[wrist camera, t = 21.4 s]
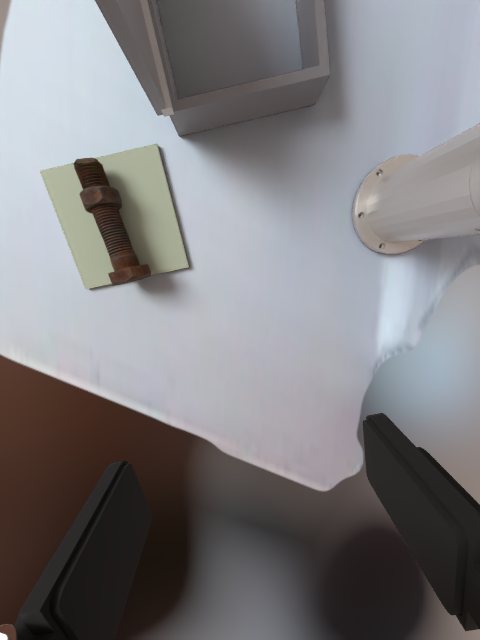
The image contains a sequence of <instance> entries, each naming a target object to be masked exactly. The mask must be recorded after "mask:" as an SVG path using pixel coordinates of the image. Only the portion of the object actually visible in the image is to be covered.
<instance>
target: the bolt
mask: <svg viewBox="0 0 480 640" xmlns="http://www.w3.org/2000/svg"><path fill="white" fill-rule="evenodd" d="M73 165H74V169H75V171H76V173H77V176H78V178H79V181H80V183H81V185H82V188H83V190H82V191H81V192H80V198H81V200H82V203H83V206H84V208H85V210H86V211H87V212H89V213H92V214H93V216H94V218H95V221H96V224H97V226H98V229H99V232H100V234H101V237H103V238H102V239H103V240H104V243H105V245H106V246H105V247H106V248H107V250H108V251H107V252H108V253H109V257H110V261H111V264H112V267H113V269H114V272H110V273H108V276H109V278H110V281H111V283H112V285H119V284H124V283H128V282H132V281H135V280H140V279H143V278H146V277H148V276H151V271H150V268H149V265H148V264H144V265H140V263H139V260H138V258H137V255H136V254H135V252H134V250H132V249H133V247H132V245H131V242H130V240H129V239H130V238H129V237H128V236H129V235H128V233H127V232H126V231H127V230H126V227H124V226H125V225H124V222H122V221H123V219H122V217H121V214H120V212H119V209H120V208H121V207H122V200H121V197H120V194H119V191H118V190H116V189H115V188H113V187H110V184H109V182H108V179H107V176H106V173H105V171H104V168H103V165H102V164H101V163H100V162H98V160H97V159H95V158H83V159H77V160H76V161H75V162H74V164H73Z"/></svg>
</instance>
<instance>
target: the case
mask: <svg viewBox="0 0 480 640" xmlns="http://www.w3.org/2000/svg"><path fill="white" fill-rule="evenodd" d="M95 1H96V3H97V5H98V7H99V9H100V10H101V12H102V14H103V16H104V18H105V20H106V21H107V23H108V25H109V27H110V29H111V31H112V32H113V34H114V36H115V38H116V40H117V42H118V43H119V45H120V47H121V49H122V51H123V53H124V54H125V56H126V58H127V60H128V62H129V64H130V65H131V67H132V69H133V71H134V73H135V75H136V77H137V78H138V80H139V82H140V84H141V86H142V88H143V89H144V91H145V93H146V95H147V97H148V99H149V100H150V102H151V104H152V106H153V108H154V110H155V111H156V113H157V115H164V116H170V118H171V120H172V122H173V124H174V127H175V129H176V131H177V133H178V135H179V136H183V135H187V134H191V133H195V132H200V131H204V130H208V129H213V128H217V127H221V126H225V125H230V124H234V123H238V122H242V121H247V120H251V119H255V118H260V117H264V116H268V115H272V114H277V113H281V112H285V111H289V110H294V109H298V108H302V107H307V106H311V105H315V103H316V101H317V99H318V97H319V95H320V93H321V91H322V89H323V87H324V85H325V84H326V82H327V80H328V78H329V76H330V67H329V54H328V42H327V29H326V17H325V4H324V0H296V8H297V17H298V27H299V36H300V46H301V55H302V65H303V70H298V71H294V72H290V73H286V74H282V75H278V76H273V77H269V78H265V79H261V80H257V81H253V82H248V83H244V84H240V85H236V86H232V87H227V88H223V89H219V90H215V91H211V92H207V93H202V94H198V95H194V96H190V97H186V98H182V99H178V95H177V91H176V87H175V82H174V78H173V73H172V69H171V65H170V60H169V56H168V52H167V47H166V43H165V38H164V34H163V30H162V25H161V21H160V16H159V12H158V8H157V3H156V0H95Z"/></svg>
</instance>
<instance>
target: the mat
mask: <svg viewBox="0 0 480 640" xmlns="http://www.w3.org/2000/svg"><path fill="white" fill-rule="evenodd" d="M95 159H97V160H98V162H100V163H101V164H102V165H103V168H104V171H105V173H106V176H107V179H108V182H109V184H110V187H113V188H115V189H116V190H118V191H119V194H120V197H121V200H122V207H121V208H120V209H119V212H120V214H121V217H122V219H123V221H122V222H124V225H125V226H124V227H126V230H127V231H126V232H127V233H128V235H129V236H128V237H129V238H130V239H129V240H130V242H131V245H132V247H133V249H132V250H134V252H135V254H136V255H137V258H138V260H139V263H140V265H144V264H148V265H149V268H150V271H151V275H155V274H159V273H164V272H169V271H173V270H178V269H183V268H188V267H189V263H188V259H187V256H186V252H185V248H184V244H183V240H182V236H181V232H180V229H179V225H178V221H177V217H176V213H175V209H174V205H173V201H172V198H171V194H170V190H169V186H168V182H167V178H166V174H165V171H164V167H163V163H162V159H161V155H160V151H159V147H158V145H157V144H153V145H149V146H144V147H140V148H136V149H132V150H127V151H123V152H119V153H114V154H110V155H106V156H102V157H97V158H95ZM73 164H74V163H72V164H67V165H63V166H59V167H55V168H50V169H46V170H42V171H40V173H41V176H42V178H43V181H44V183H45V186H46V188H47V191H48V194H49V196H50V199H51V201H52V204H53V206H54V209H55V212H56V214H57V217H58V219H59V222H60V225H61V227H62V230H63V232H64V235H65V237H66V240H67V243H68V245H69V248H70V250H71V253H72V256H73V258H74V261H75V263H76V266H77V268H78V271H79V274H80V276H81V279H82V281H83V284H84V286H85V289H89V288H94V287H99V286H103V285H108V284H112V283H111V281H110V278H109V276H108V273H110V272H114V269H113V267H112V264H111V261H110V257H109V253H108V252H107V251H108V250H107V248H106V247H105V246H106V245H105V243H104V240H103V239H102V238H103V237H101V234H100V232H99V229H98V226H97V224H96V221H95V218H94V216H93V214H92V213H89V212H87V211H86V210H85V208H84V206H83V203H82V200H81V198H80V192H81V191H82V190H83V188H82V185H81V183H80V181H79V178H78V176H77V173H76V171H75V169H74V165H73Z"/></svg>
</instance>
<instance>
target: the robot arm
mask: <svg viewBox="0 0 480 640" xmlns="http://www.w3.org/2000/svg"><path fill="white" fill-rule="evenodd" d="M376 174H377V175H376ZM352 214H353V224H354V228H355V231H356V233H357V235H358V237H359V238H360V240H361V241H362V242H363V243H364V244H365V245H366V246H367V247H368V248H370V249H372V250H373V251H376V252H379V253H385V254H397V253H402V252H406V251H408V250H411V249H413V248H415V247H417V246H418V245H420V244H421V243H422V242H424V241H425V240H427V239H438V238H449V237H459V236H470V235H480V123H479V124H477V125H475V126H474V127H472V128H470V129H468V130H466V131H464V132H463V133H461V134H459V135H457V136H455V137H454V138H452V139H450V140H448V141H446V142H444V143H443V144H441V145H439V146H437V147H435V148H434V149H432V150H430V151H428V152H426V153H424V154H423V155H421V156H417V155H400V156H397V157H394V158H391V159H389V160H387V161H385V162H383V163H382V164H380V165H379V166H377V167H376V168H375V169H373V170H372V171H371V172H370V173H369V174H368V175H367V177H366V178H365V179H364V181H363V182H362V183H361V185H360V187H359V189H358V191H357V193H356V196H355V199H354V204H353V210H352ZM358 214H359V217H358ZM379 245H380V247H379ZM366 418H367V419H366V420H365V421H363V433H364V445H365V460H366V473H367V477H368V480H369V482H370V484H371V486H372V487H373V489H374V491H375V492H376V494H377V496H378V498H379V499H380V501H381V503H382V504H383V506H384V508H385V509H386V511H387V512H388V514H389V516H390V518H391V519H392V521H393V523H394V524H395V526H396V528H397V529H398V531H399V533H400V534H401V536H402V538H403V539H404V541H405V543H406V544H407V546H408V548H409V549H410V551H411V553H412V554H413V556H414V558H415V559H416V561H417V563H418V564H419V566H420V568H421V569H422V571H423V573H424V574H425V576H426V578H427V579H428V581H429V583H430V584H431V586H432V588H433V590H434V591H435V593H436V595H437V596H438V598H439V600H440V601H441V603H442V604H443V606H444V607H445V609H446V610H447V612H448V613H449V614H450V615H456V616H457V618H458V620H459V621H460V623H461V624H462V626H463V628H464V629H465V631H469V630H476V629H480V505H479V504H478V503H477V502H476V501H475V500H474V499H473V497H472V496H471V495H470V494H468V492H466V490H465V489H464V488H463V487H462V486H461V485H460V484H459V483H458V482H457V481H456V480H455V479H454V478H453V477H452V476H451V475H450V474H449V473H448V472H447V471H446V470H445V469H444V468H443V467H441V465H440V464H439V463H438V462H437V461H436V460H435V459H434V458H433V457H432V456H431V455H430V454H429V453H428V452H427V451H426V450H424V449H422V448H421V447H415V445H414V444H413V443H412V442H411V441H410V440H409V439H408V438H407V437H406V436H405V435H404V434H403V433H402V432H401V431H400V430H399V429H398V428H397V427H396V426H395V425H394V423H393V422H392V421H391V420H390V419H389V418H388V417H387V416H386V415H385V414H383V413H380V414H374V415H369V416H367V417H366ZM151 520H152V513H151V509H150V507H149V505H148V502H147V500H146V497H145V495H144V493H143V490H142V488H141V486H140V483H139V481H138V478H137V476H136V474H135V471H134V469H133V466H132V465H131V464H128V462H127V461H122V462H116V463H112V464H110V465H109V466H108V467H107V469H106V470H105V472H104V473H103V475H102V477H101V479H100V480H99V482H98V483H97V485H96V487H95V488H94V490H93V492H92V493H91V495H90V497H89V498H88V500H87V502H86V503H85V505H84V506H83V508H82V510H81V511H80V513H79V514H78V516H77V518H76V519H75V521H74V523H73V525H72V526H71V528H70V529H69V531H68V533H67V534H66V536H65V538H64V539H63V541H62V543H61V544H60V546H59V547H58V549H57V551H56V552H55V554H54V556H53V557H52V559H51V560H50V562H49V564H48V565H47V567H46V569H45V570H44V572H43V574H42V575H41V577H40V578H39V580H38V582H37V583H36V585H35V587H34V588H33V590H32V592H31V593H30V595H29V597H28V598H27V600H26V602H25V603H24V605H23V606H22V608H21V610H20V611H19V613H18V615H19V618H18V619H17V621H16V622H15V624H14V626H12V625H11V624H6V625H5V624H4V625H1V626H0V640H114V638H115V634H116V631H117V628H118V625H119V622H120V619H121V616H122V613H123V609H124V606H125V603H126V600H127V597H128V593H129V591H130V587H131V584H132V581H133V578H134V575H135V571H136V568H137V565H138V562H139V559H140V556H141V553H142V550H143V546H144V543H145V540H146V537H147V534H148V530H149V527H150V524H151Z"/></svg>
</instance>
